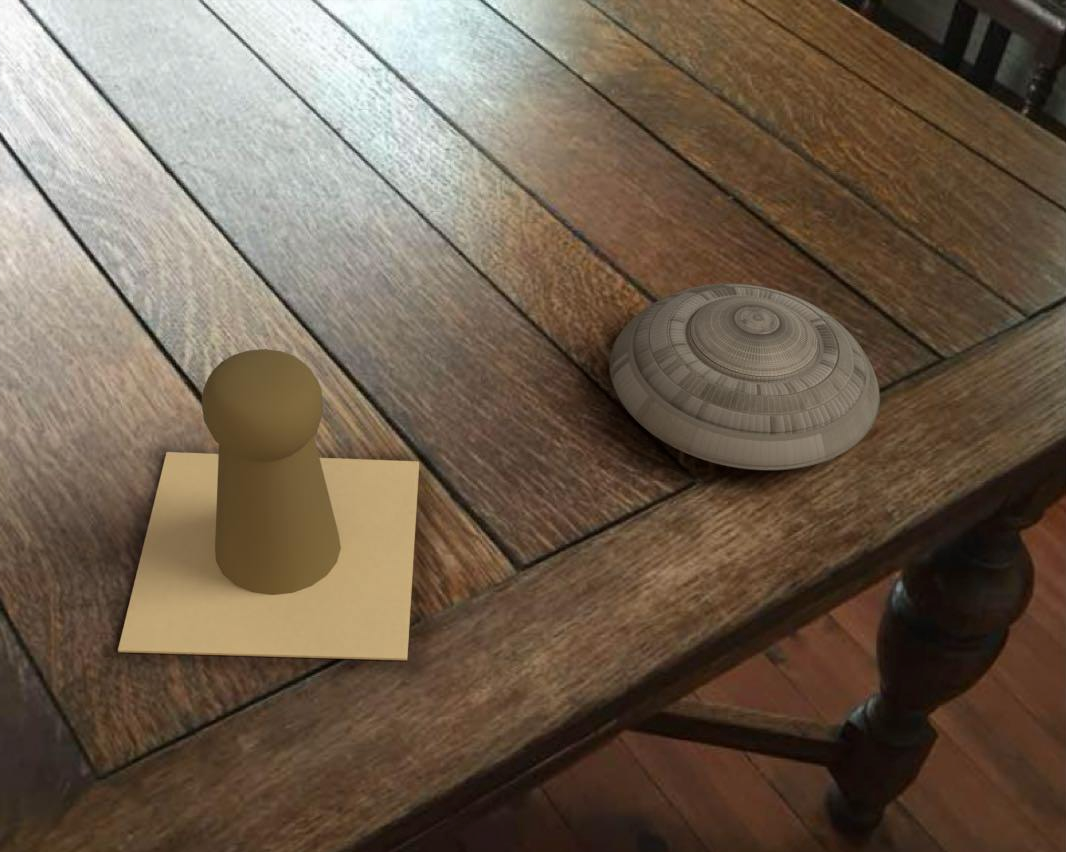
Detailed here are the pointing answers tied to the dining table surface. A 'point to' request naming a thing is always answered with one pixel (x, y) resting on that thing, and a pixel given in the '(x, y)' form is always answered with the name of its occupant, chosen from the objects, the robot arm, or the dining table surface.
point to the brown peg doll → (269, 473)
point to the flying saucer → (745, 377)
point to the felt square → (284, 619)
